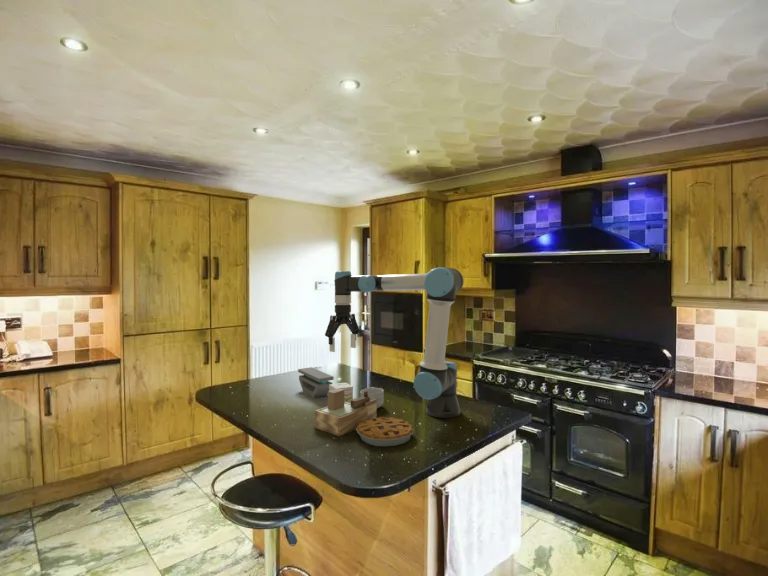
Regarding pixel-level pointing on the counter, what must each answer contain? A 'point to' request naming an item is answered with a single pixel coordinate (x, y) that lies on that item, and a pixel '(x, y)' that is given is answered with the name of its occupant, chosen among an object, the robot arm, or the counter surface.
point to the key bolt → (360, 400)
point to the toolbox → (344, 419)
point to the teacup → (375, 394)
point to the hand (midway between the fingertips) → (342, 349)
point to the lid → (338, 404)
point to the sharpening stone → (314, 382)
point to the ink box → (347, 390)
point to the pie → (385, 431)
